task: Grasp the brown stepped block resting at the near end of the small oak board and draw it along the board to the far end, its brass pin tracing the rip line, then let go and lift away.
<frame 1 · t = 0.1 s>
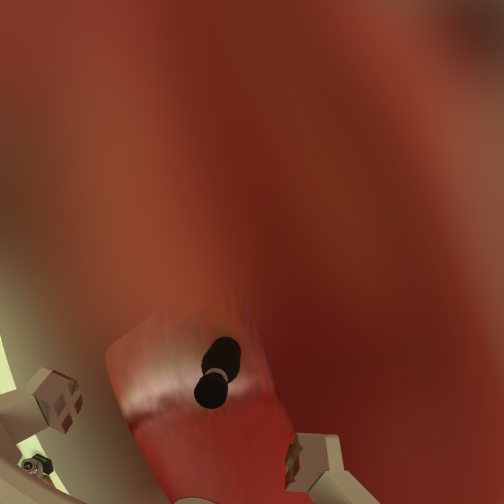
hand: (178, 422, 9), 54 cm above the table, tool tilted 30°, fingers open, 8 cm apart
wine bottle: (225, 351, 62), on the table
board: (50, 491, 52), on the table
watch: (45, 461, 54), on the table
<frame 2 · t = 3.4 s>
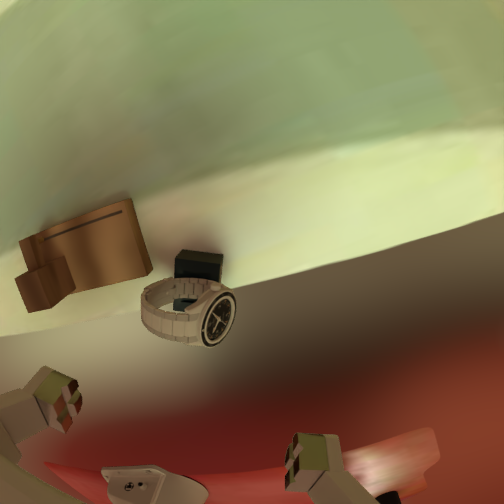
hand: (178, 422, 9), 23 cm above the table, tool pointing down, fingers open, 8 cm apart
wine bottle: (384, 497, 47), on the table
brown stepped block: (58, 275, 30), point 2 cm above the table, touching board
board: (90, 249, 31), on the table
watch: (201, 275, 32), on the table
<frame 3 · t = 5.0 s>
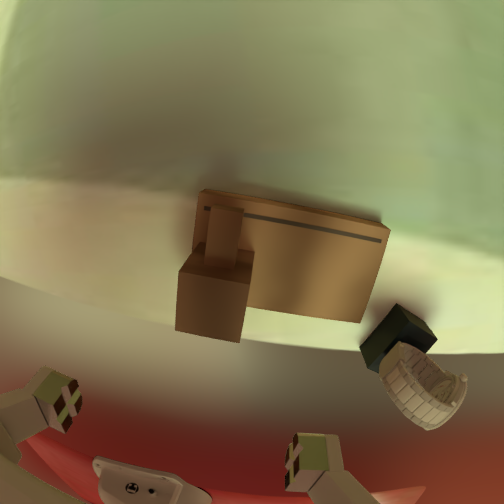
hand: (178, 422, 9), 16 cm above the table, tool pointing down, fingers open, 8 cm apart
brown stepped block: (223, 272, 22), point 2 cm above the table, touching board
board: (286, 254, 24), on the table
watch: (393, 333, 26), on the table
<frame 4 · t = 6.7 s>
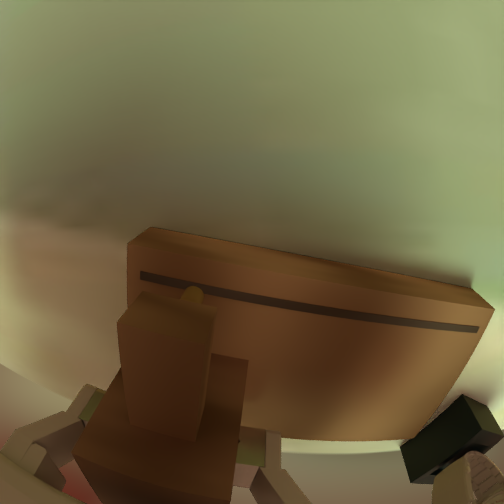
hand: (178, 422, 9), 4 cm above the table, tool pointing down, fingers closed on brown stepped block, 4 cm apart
brown stepped block: (190, 386, 11), point 2 cm above the table, touching board, gripper
board: (308, 347, 12), on the table
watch: (446, 425, 14), on the table
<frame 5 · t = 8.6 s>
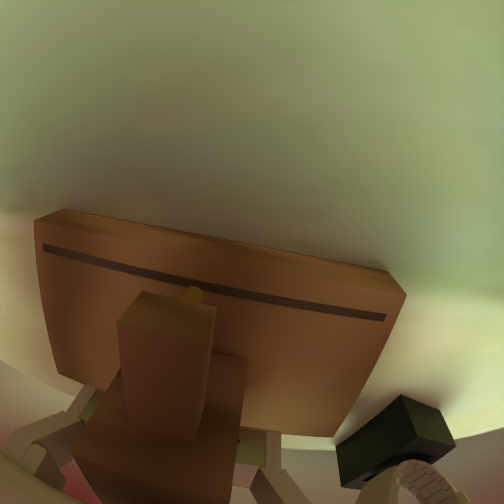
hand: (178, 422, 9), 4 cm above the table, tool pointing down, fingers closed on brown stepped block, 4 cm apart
brown stepped block: (189, 386, 11), point 2 cm above the table, touching gripper
board: (201, 326, 13), on the table
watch: (390, 428, 15), on the table
when the fingers open (4 cm above the table, at t = 10.5 s): brown stepped block stays where it is, resting on board.
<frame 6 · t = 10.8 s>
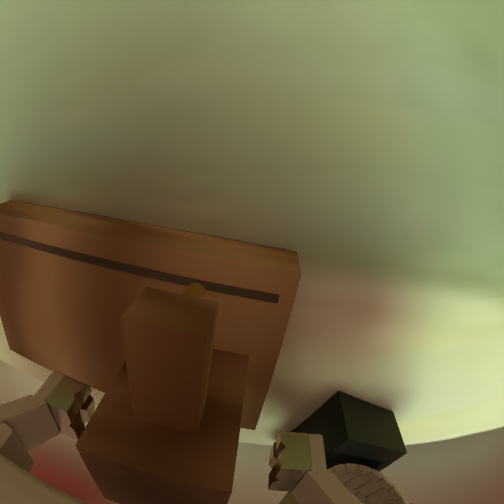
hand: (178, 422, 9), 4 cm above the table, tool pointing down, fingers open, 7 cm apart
brown stepped block: (191, 382, 11), point 2 cm above the table, touching board
board: (120, 305, 13), on the table
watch: (336, 427, 15), on the table
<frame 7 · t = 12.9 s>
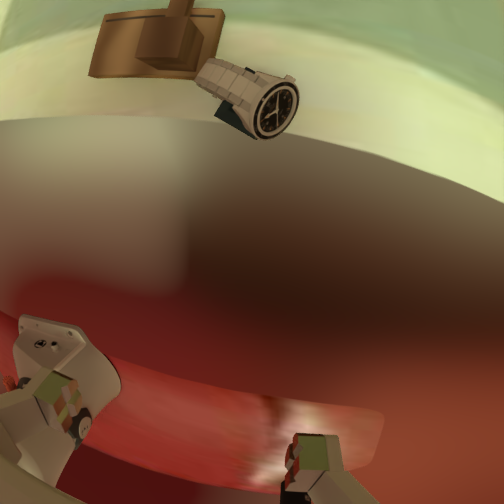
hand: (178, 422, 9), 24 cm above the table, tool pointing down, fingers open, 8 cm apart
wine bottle: (295, 483, 50), on the table
brown stepped block: (180, 53, 24), point 2 cm above the table, touching board
board: (156, 45, 26), on the table
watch: (254, 106, 28), on the table
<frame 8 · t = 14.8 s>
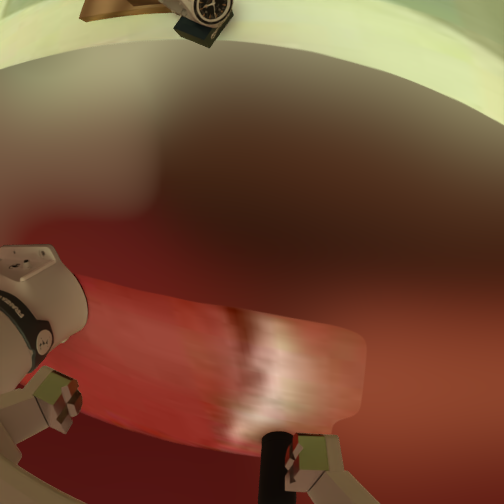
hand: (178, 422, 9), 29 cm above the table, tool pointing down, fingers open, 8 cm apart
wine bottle: (278, 439, 50), on the table
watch: (208, 25, 29), on the table
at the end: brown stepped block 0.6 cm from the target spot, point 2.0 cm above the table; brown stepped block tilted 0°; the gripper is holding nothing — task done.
